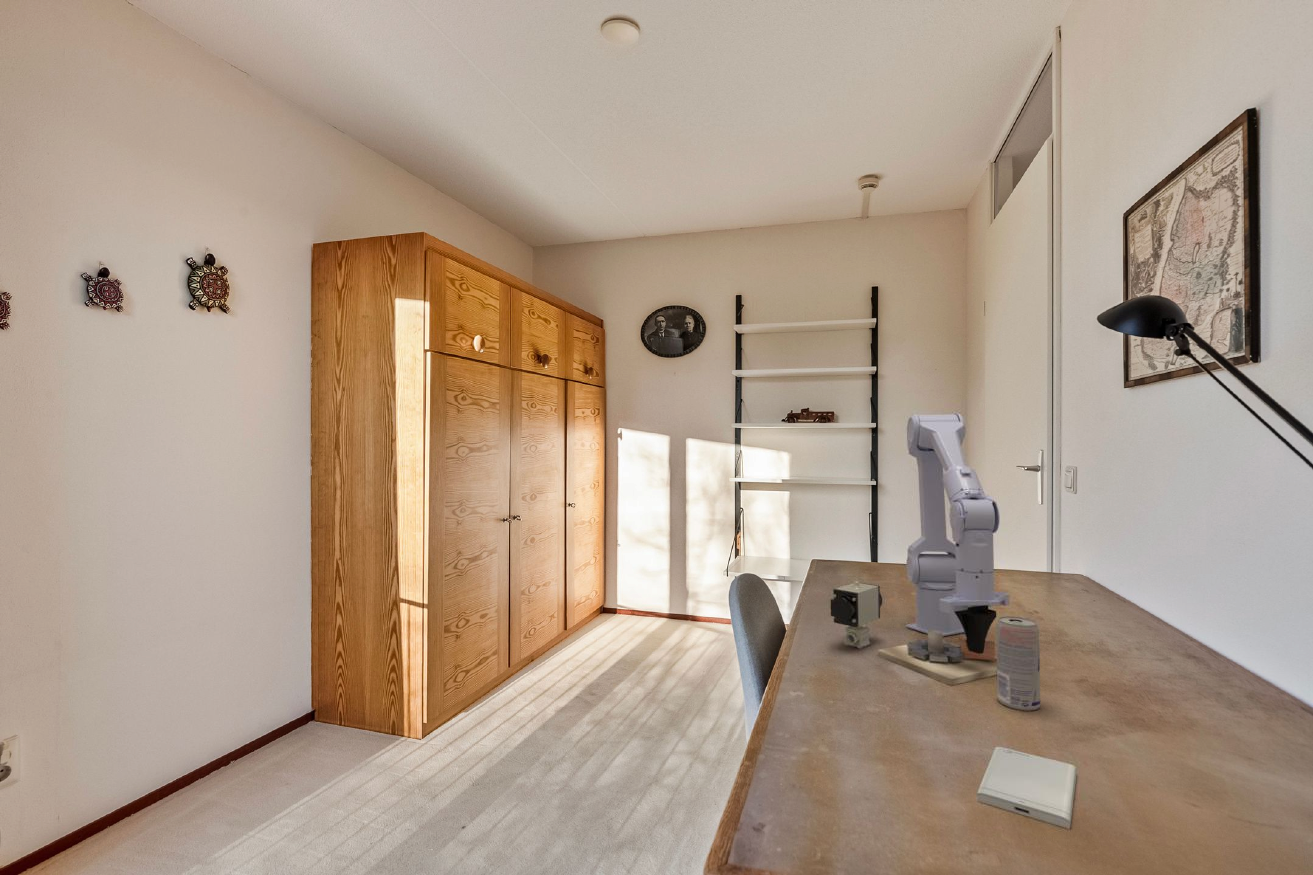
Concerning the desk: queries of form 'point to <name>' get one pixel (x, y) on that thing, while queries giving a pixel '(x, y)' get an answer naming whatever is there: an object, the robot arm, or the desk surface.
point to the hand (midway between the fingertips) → (976, 651)
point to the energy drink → (1018, 663)
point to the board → (941, 663)
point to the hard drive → (1029, 786)
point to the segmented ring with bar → (952, 651)
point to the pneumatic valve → (856, 610)
